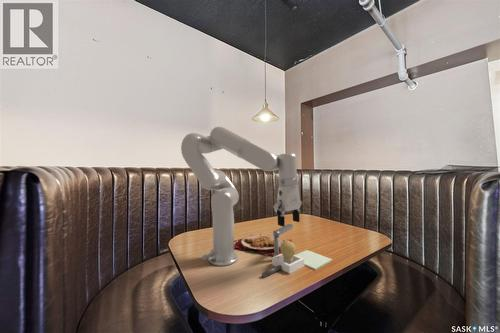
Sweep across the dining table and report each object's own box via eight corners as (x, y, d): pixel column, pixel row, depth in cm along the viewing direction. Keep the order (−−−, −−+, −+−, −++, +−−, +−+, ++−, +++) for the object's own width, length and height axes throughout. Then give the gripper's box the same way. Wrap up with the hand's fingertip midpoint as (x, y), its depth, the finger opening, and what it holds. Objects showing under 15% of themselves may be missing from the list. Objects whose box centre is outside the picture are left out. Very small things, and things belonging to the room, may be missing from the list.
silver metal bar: (293, 228, 97) (293, 224, 97) (277, 236, 85) (277, 232, 85) (288, 227, 99) (288, 223, 99) (272, 235, 86) (272, 231, 86)
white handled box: (271, 283, 68) (271, 253, 68) (249, 269, 78) (249, 243, 78) (304, 266, 81) (304, 240, 81) (282, 256, 90) (281, 233, 90)
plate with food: (279, 259, 88) (280, 251, 88) (229, 248, 99) (229, 241, 99) (292, 242, 110) (292, 236, 111) (249, 234, 122) (250, 229, 122)
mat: (315, 270, 77) (315, 268, 77) (289, 258, 87) (289, 257, 87) (332, 260, 86) (332, 259, 86) (306, 251, 96) (306, 249, 96)
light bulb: (293, 261, 84) (293, 238, 85) (297, 269, 78) (297, 244, 78) (279, 262, 84) (278, 238, 85) (281, 269, 78) (281, 244, 78)
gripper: (280, 184, 74) (282, 229, 73) (307, 182, 85) (308, 221, 84) (267, 183, 79) (268, 225, 79) (293, 181, 90) (294, 218, 90)
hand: (289, 223), depth 82 cm, fingers open, 9 cm apart
